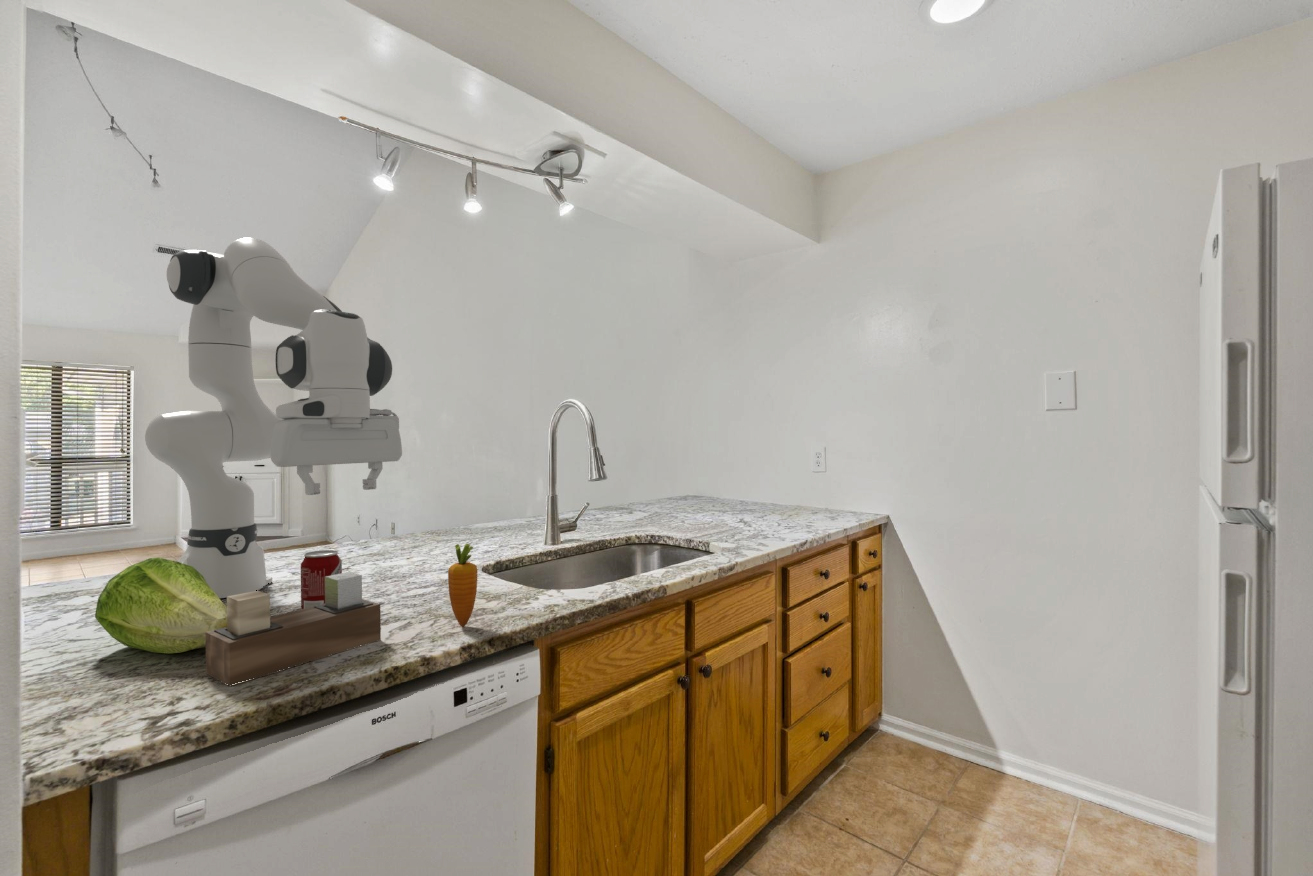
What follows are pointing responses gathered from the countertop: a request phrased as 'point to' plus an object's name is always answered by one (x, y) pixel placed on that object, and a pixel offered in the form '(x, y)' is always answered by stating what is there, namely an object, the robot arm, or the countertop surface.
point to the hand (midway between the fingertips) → (342, 491)
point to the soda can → (317, 575)
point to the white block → (343, 591)
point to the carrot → (462, 585)
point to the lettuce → (160, 607)
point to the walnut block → (290, 641)
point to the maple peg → (248, 612)
